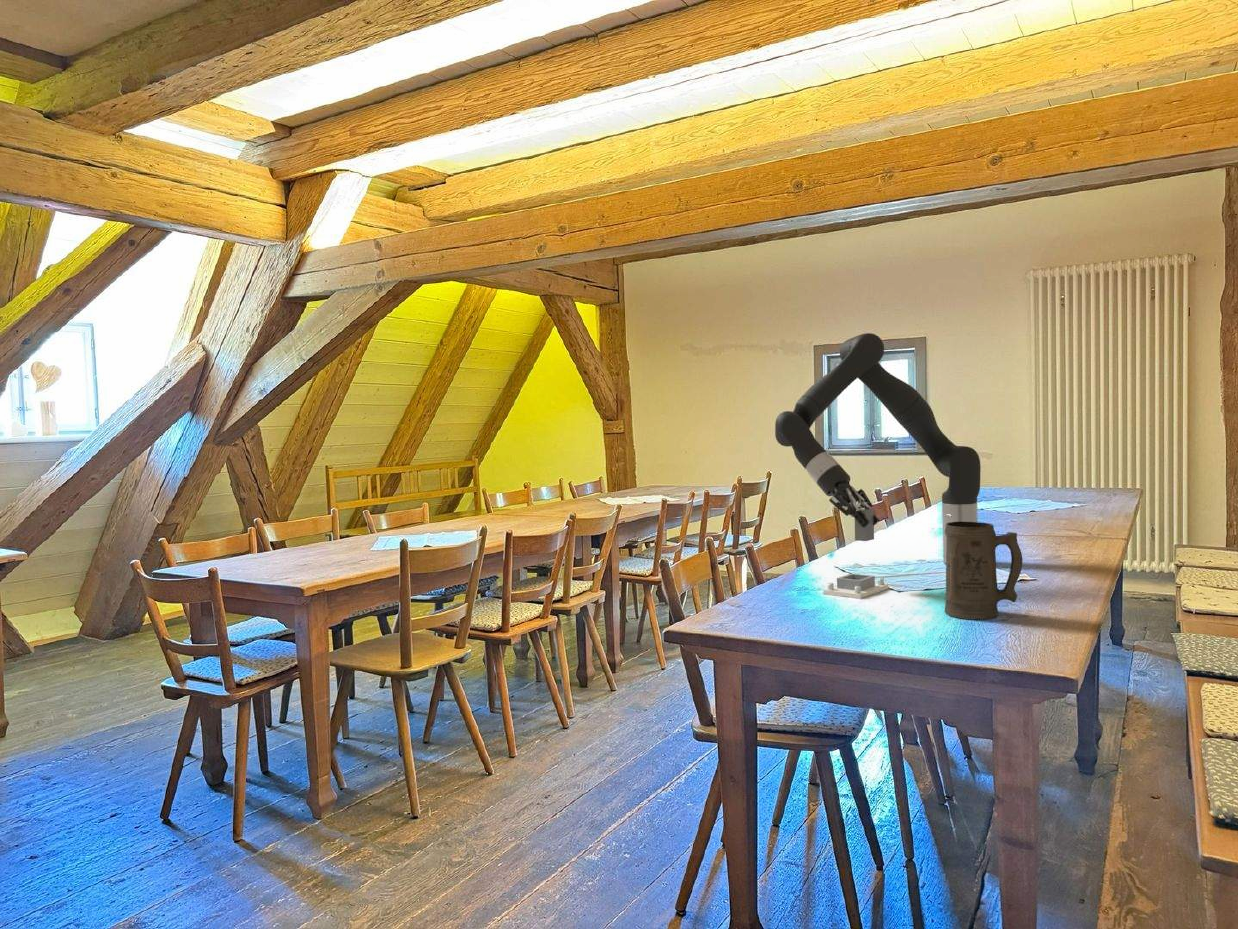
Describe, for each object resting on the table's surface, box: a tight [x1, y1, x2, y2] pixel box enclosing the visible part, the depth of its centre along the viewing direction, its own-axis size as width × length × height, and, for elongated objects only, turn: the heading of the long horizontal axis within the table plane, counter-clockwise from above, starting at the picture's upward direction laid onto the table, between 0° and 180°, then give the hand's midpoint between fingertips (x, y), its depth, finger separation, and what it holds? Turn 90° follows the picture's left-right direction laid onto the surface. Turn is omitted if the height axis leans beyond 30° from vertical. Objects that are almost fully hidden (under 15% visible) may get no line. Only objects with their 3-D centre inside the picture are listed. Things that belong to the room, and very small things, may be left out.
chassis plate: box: [822, 573, 890, 600], centre depth 208 cm, size 14×10×4 cm
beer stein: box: [944, 521, 1023, 620], centre depth 180 cm, size 15×11×20 cm
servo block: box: [854, 507, 875, 542], centre depth 209 cm, size 4×3×8 cm
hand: (871, 524), depth 207 cm, fingers closed on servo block, 4 cm apart
